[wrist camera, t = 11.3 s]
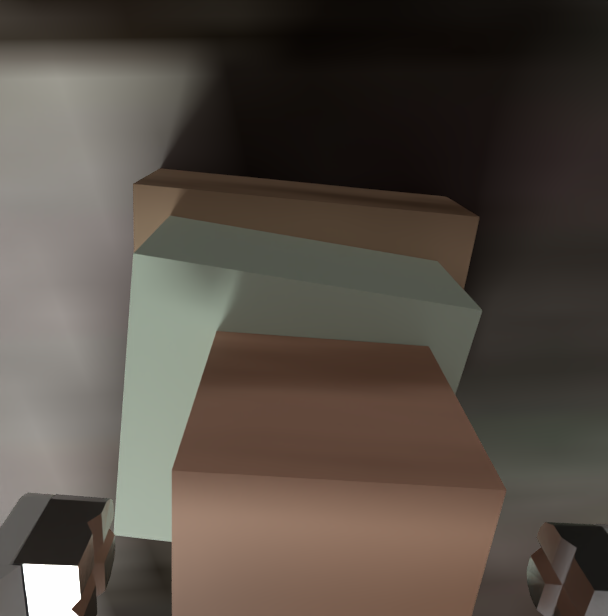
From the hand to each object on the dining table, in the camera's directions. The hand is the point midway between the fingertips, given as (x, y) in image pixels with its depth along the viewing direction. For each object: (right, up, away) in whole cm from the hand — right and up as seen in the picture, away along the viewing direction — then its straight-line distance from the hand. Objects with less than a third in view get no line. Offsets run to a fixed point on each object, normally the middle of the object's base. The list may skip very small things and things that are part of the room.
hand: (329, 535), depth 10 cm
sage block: (-1, +3, +7) cm, 8 cm away
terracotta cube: (0, +1, +3) cm, 4 cm away
